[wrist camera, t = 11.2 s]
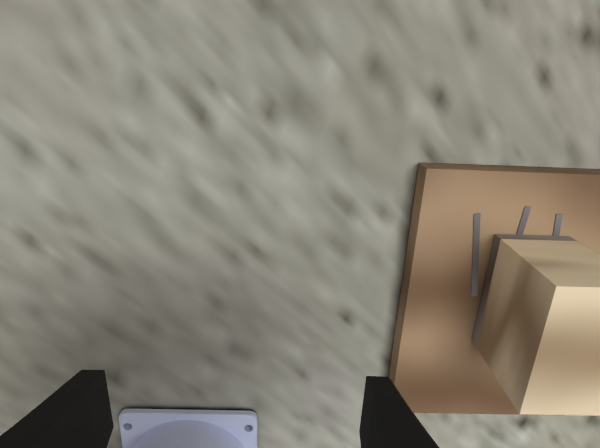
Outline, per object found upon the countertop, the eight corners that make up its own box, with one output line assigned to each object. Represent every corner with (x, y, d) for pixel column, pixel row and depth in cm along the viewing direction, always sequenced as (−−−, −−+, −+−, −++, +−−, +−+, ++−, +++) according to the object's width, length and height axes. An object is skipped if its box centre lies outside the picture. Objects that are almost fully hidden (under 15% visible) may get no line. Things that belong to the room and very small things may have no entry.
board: (551, 399, 25) (564, 416, 24) (385, 396, 25) (390, 413, 24) (625, 170, 20) (645, 176, 19) (419, 162, 20) (427, 168, 19)
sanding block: (539, 341, 22) (604, 415, 18) (471, 340, 22) (519, 414, 18) (569, 236, 20) (652, 288, 16) (495, 233, 20) (556, 286, 15)
